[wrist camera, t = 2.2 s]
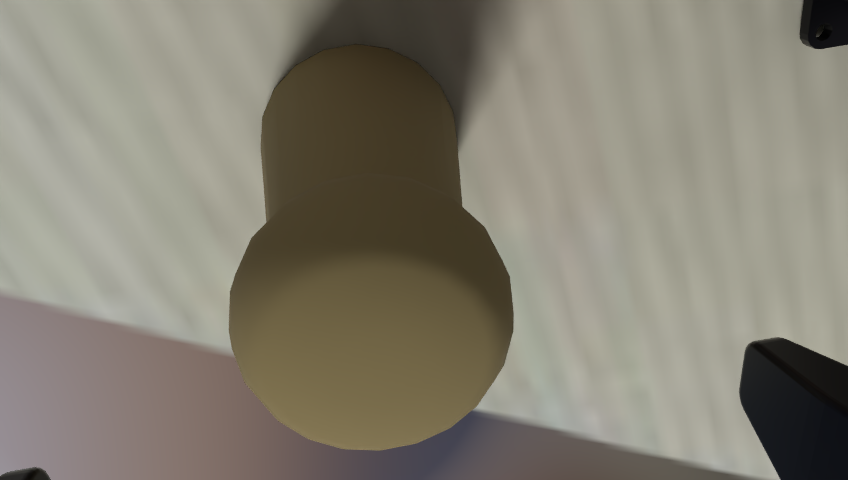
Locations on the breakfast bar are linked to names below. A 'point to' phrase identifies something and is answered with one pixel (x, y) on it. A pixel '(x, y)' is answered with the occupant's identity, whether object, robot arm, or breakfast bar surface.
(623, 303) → the breakfast bar surface
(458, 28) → the breakfast bar surface
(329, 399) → the cork
